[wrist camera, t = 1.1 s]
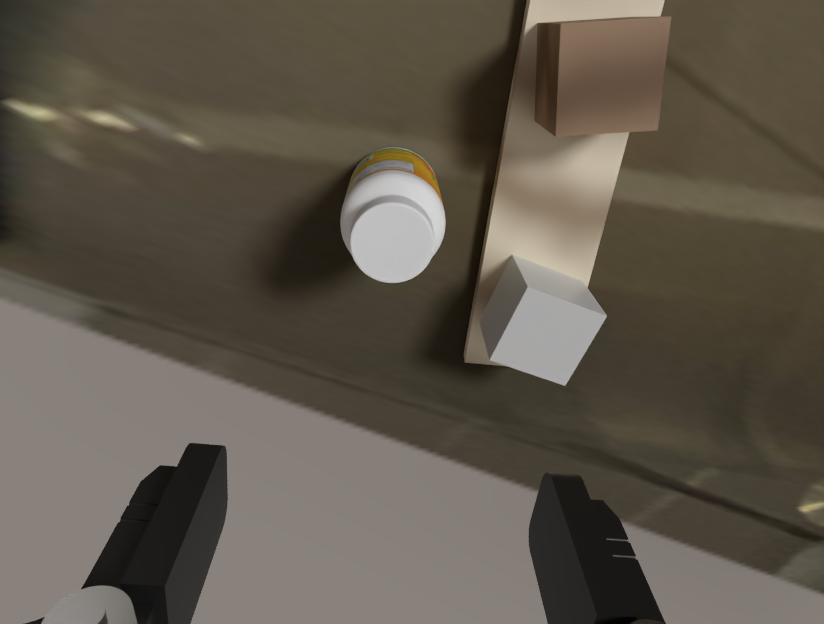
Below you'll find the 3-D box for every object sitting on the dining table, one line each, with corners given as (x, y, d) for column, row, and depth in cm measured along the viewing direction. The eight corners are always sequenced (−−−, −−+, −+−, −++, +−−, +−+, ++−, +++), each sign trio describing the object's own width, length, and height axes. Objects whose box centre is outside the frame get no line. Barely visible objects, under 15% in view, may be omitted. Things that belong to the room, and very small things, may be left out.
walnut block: (537, 22, 32) (560, 23, 27) (632, 16, 31) (671, 16, 27) (534, 121, 34) (555, 136, 29) (623, 115, 34) (657, 130, 29)
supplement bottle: (438, 230, 38) (451, 295, 29) (353, 234, 38) (339, 299, 29) (437, 143, 35) (449, 184, 26) (345, 147, 35) (328, 189, 26)
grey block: (512, 254, 37) (527, 286, 33) (582, 281, 38) (606, 316, 34) (479, 320, 39) (489, 360, 35) (546, 344, 40) (565, 385, 36)
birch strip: (534, -42, 31) (538, -44, 30) (663, -24, 32) (671, -25, 31) (463, 355, 42) (464, 362, 41) (561, 363, 42) (565, 371, 41)
